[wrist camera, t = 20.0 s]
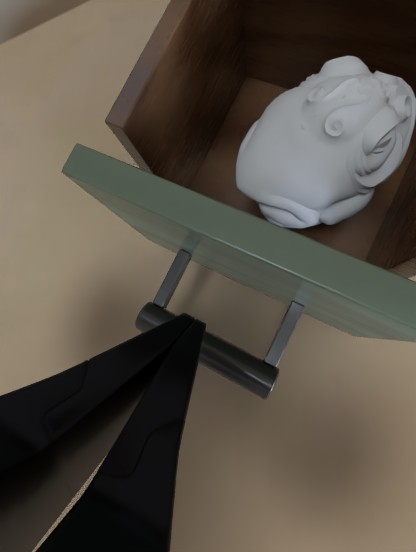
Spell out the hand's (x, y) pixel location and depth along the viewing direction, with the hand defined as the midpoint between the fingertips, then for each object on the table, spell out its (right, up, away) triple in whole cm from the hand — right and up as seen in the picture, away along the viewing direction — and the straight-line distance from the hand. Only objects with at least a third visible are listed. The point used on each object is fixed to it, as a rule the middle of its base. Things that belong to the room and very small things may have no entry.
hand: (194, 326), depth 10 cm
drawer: (+4, +5, +8) cm, 10 cm away
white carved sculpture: (+6, +6, +7) cm, 11 cm away
